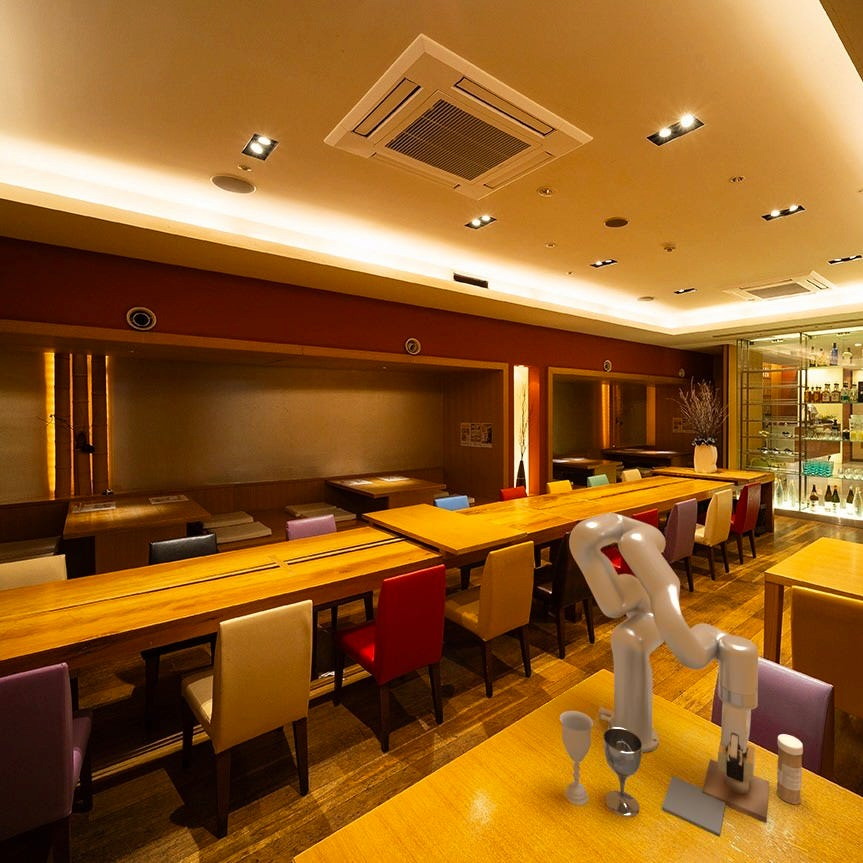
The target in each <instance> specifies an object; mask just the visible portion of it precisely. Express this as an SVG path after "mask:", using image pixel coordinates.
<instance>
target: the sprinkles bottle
mask: <svg viewBox="0 0 863 863" xmlns="http://www.w3.org/2000/svg"><path fill="white" fill-rule="evenodd" d="M777 746H778V748H777V749H778V750H777V752H778V754H777V755H778V756H777V767H776V768H777V772H776V775H777V776H776V779H777V784H776V785H777V787H776V793H777V796H778V797H779V798H780V799H782V800H783V801H785V802H787V803H789V804H792V805H798V804H801V803H802V798H801V796H802V795H801V793H802V790H801V789H802V774H803V773H802V772H803V770H802V769H803V766H802V761H803V760H802V757H803V752H804V747H803V746H804V745H803V742H801V740H800V739H798V738H797V737H795V736H793V735H789V734H784V733H782V734H779V735H778V736H777Z"/></svg>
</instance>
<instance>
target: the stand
mask: <svg viewBox="0 0 863 863" xmlns="http://www.w3.org/2000/svg"><path fill="white" fill-rule="evenodd" d="M739 755H740V753H739V752H737V756H738V757H739ZM702 788H703V790H702V793H704V794H706V795H708V796H711V797H713V798H715V799H718V800H720V801H722V802H725V807H726V806H727V807H728V808H731V809H733V810H735V811H738V812H740V813H743V814H745V815H747V816H749V817H752V818H754V819H757V820H758V821H761V822H763V823H764V824H765V823H767V821H768V806H769V795H770V793H769V791H770V781H769V780H767V779H765V778H761V777H758V776H756V775H753V782H751V781H749V780H746V779H744V778H743V782H740V781H737V780H735V779H732V778H730V777H728V776H727V775H726V771H723V770H721V769H718V760H714V759H712V758H710V759H709V762H708V766H707V771H706V774H705V778H704V782H703V787H702Z"/></svg>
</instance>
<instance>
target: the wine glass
mask: <svg viewBox="0 0 863 863" xmlns="http://www.w3.org/2000/svg"><path fill="white" fill-rule="evenodd" d="M603 751H604V756H605V761H606V762H607V765H608V766H609V768H610V769H611V770H612V771H613V773H615V775H616V776H617V777H618V781H619V782H618V783H619V786H620V787H619V788H620V790H611V791H609V792H607V794H606V795H605V804H606V806H607V807H608V809H609V810H610V811H611V812H613V813H614V814H616V815H618V816H620V817H623V818H633V817H636V816H637V815H638V814H639V812H640V803H638V801H637V799H636V798H635V797H634V796H632V795H631V794H629V793H628V792H625V786H626V781H627V780H628V778H629V777H632V776H634V775H635V774H636V773H637V772H638V770H639V768H640V765H641V760H642V755H643V752H642V743H641V740H640V738H639V737H638V736H637V735H636V734H634V733H633V732H631V731H629V730H627V729H623V728H610V729H608V728H607V729H606V730H605V731H604V732H603Z"/></svg>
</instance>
